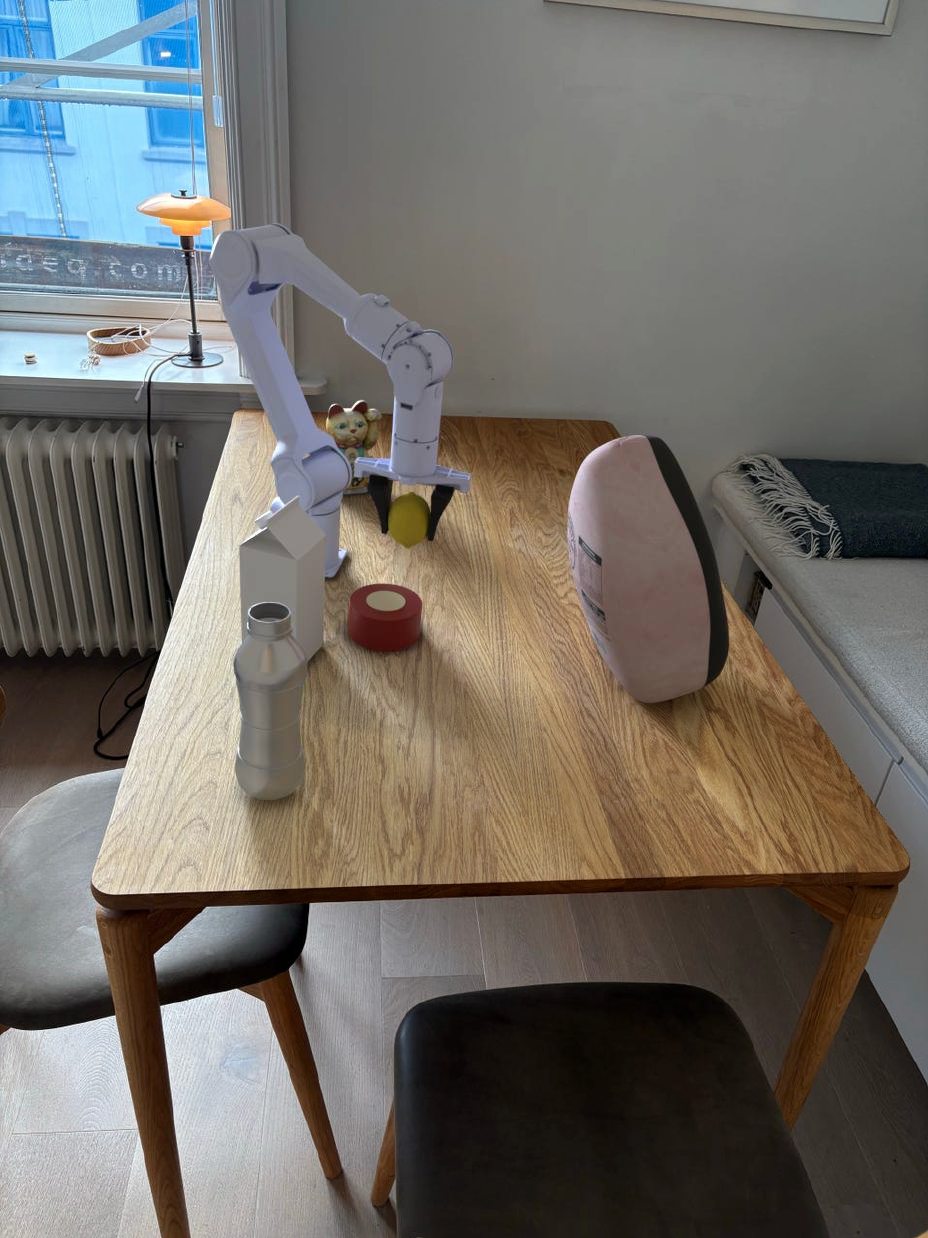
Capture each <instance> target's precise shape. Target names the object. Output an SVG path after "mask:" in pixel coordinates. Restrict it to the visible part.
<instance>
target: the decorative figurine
mask: <svg viewBox="0 0 928 1238" xmlns="http://www.w3.org/2000/svg"><path fill="white" fill-rule="evenodd" d="M382 418H383V416H382V413H381V412H380V411H379V410H378V409H376V408H369V405H368V403H367V401H365V400H364V399H360V400H357V401H356V402H355V403H354V404H353V406H352V407H351V408H348V407H347V408H343V406H342V405H341V404H339V403H333V404H331V405H330V407H329V409H328V413H327V418H326V421H325V427H326V428H325V429H326V433H327V434H329V435H331V436H332V437H333V438H334V441H335V443H336V445H337V447H338V449H339V450H340V451H341V452H342V453H343V454H344V455H345V456H346V458H347V459H348V461H349V463H350V465H351V469H352V480H351V483H350V485H349V486H348V487H347V488H346V489H345V490H344V491H343V495H354V494H355V495H356V494H364V493H368V490H367V485H368V483H369V477H367V476H363V477H362V478H359V477H354V464H355V461H356V460H357V458H358V457H361V458H375V457H374V456H373V455H370V454H369V451H370V450H372V449H373V448H374V447H375V446H376V445H377V443H378V441H379V440H378V439H379V431H378V427H377V426H378V425H377V422H379V421H380V420H382Z"/></svg>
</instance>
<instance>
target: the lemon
mask: <svg viewBox="0 0 928 1238" xmlns="http://www.w3.org/2000/svg"><path fill="white" fill-rule="evenodd" d="M429 505H430V504H428V502H427V500H426V499H425V498H424V497H423V496H422V495H420V494H418V493H415V491H414V490H413V491H411V490H410V491H408V492H405V493H402V494H400V495H398V496H397V497H396V498H395V499H394V500H393V502H391V507H390V510H389V515H388V528H389V530H388V533H389V534H390V536H391V538H392V540H394V541H395V542H396V543H397V544H399V545H401V546H403V547H404V549H410V548H412V547H414V546H417V545H420V544H421V543H422V542H423V541H425V540H426V538H428V530H429V524H430V515H431V507H430V506H429Z"/></svg>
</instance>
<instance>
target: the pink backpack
mask: <svg viewBox="0 0 928 1238" xmlns="http://www.w3.org/2000/svg"><path fill="white" fill-rule="evenodd" d="M694 495H695V494H694V493H693V491H692V489H691V486H690V483H689V482H688V480H687V478H686V476H685V473H684V471H683V469H682V467H681V465H680V463H679V461H678V459H677V458H676V456H675V454H674V453H673V451H672V449H671V448H670V447H669V445H668V444H667V443H666V442H665V441H664V440H663V439H662V438H660V437H659V436H657V435H650V434H635V435H627V436H621V437H618V438H615V439H612V440H610V441H607V442H606V443H604V444H602V445H600V446H598V447H596V448H595V449H594V450H592V451H591V452H590V453H589V454H588V455H587V456H586V457H585V458H584V460H583V461H582V462H581V464H580V466H579V469H578V471H577V473H576V475H575V478H574V481H573V485H572V488H571V493H570V497H569V501H568V509H567V527H566V528H567V548H568V549H567V550H568V558H569V565H570V569H571V573H572V574H571V575H572V578H573V581H574V584H575V589H576V591H577V595H578V598H579V600H580V604H581V607H582V610H583V614H584V616H585V619H586V622H587V625H588V627H589V631H590V633H591V636H592V638H593V641H594V643H595V646H596V648H597V650H598V651H599V654H600V656H601V657H602V659H603V661H604V662H605V664H606V666H607V667H608V669H609V670H610V671H611V673H612V674H613V676H614V677H615V678H616V680H617V681H618V682H619V684H621V686H622V687H623V689H624V690H625V691H626V692H627V693H628V694H629V695H630V696H631V697H632V698H634V699H635V700H637V701H639V702H641V703H644V704H655V703H661V702H665V701H669V700H672V699H676V698H679V697H682V696H686V695H689V694H691V693H694V692H696V691H699V690H701V689H703V688H705V687H706V686H708V685H709V684H711V683H713V682H714V681H715V680H716V679H717V678H718V677H719V676H720V675H721V674H722V673H723V672H722V671H723V670H724V668H725V667H726V666H725V665H726V663H727V661H728V656H729V651H730V629H729V622H728V621H729V620H728V615H727V613H728V612H727V609H726V608H727V607H726V602H725V597H724V596H725V595H724V591H723V585H722V581H721V576H720V571H719V565H718V561H717V557H716V553H715V549H714V546H713V542H712V539H711V538H710V534H709V532H708V529H707V526H706V524H705V521H704V518H703V516H702V512H701V511H700V508H699V505H698V503H697V500H696V498H695V496H694Z"/></svg>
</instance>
